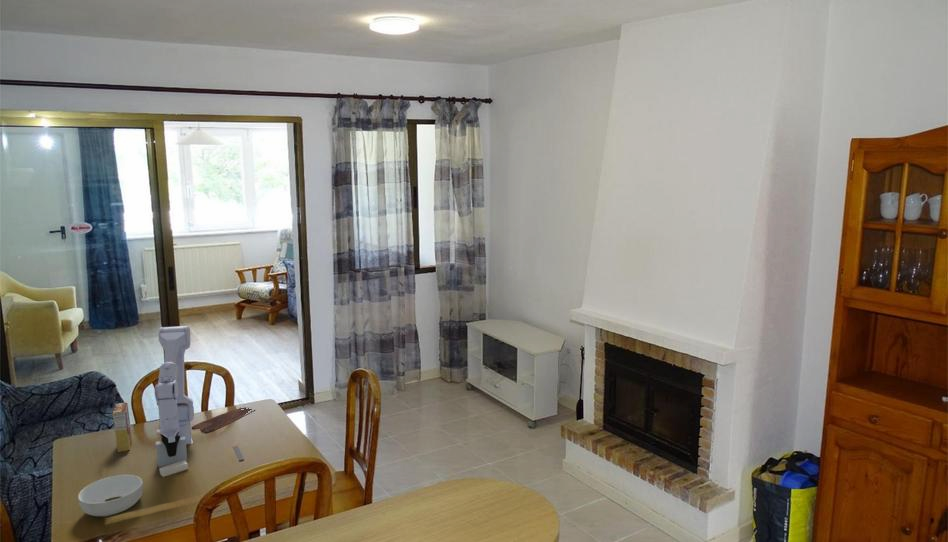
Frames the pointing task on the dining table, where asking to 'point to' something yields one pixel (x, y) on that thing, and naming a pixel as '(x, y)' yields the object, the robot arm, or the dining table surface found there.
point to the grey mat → (238, 453)
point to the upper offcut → (173, 468)
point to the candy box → (122, 427)
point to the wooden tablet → (220, 420)
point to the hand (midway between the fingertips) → (171, 454)
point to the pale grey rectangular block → (166, 460)
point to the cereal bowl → (110, 495)
